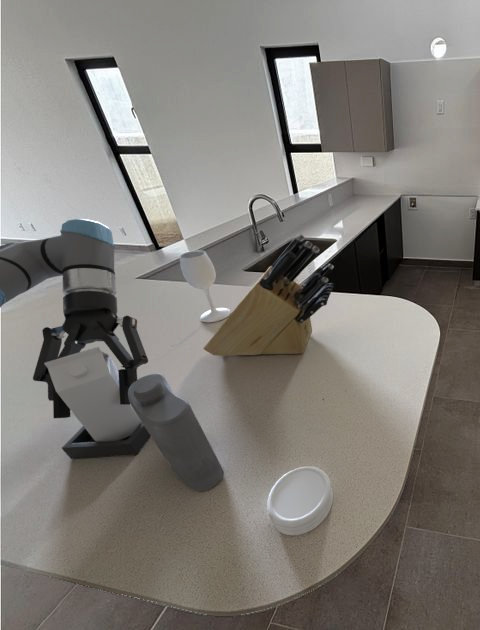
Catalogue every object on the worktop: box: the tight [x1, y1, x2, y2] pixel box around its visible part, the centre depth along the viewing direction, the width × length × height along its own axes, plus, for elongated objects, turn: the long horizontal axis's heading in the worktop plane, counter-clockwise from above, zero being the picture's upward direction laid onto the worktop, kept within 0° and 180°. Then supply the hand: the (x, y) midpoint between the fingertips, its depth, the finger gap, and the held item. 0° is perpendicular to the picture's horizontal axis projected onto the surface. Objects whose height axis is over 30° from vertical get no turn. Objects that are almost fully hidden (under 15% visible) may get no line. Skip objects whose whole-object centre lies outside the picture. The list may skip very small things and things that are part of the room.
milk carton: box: [44, 346, 142, 442], centre depth 63 cm, size 7×7×19 cm
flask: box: [128, 373, 225, 492], centre depth 57 cm, size 15×6×20 cm, turn 52°
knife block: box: [203, 233, 335, 357], centre depth 86 cm, size 11×35×31 cm, turn 92°
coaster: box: [266, 465, 334, 537], centre depth 55 cm, size 10×10×4 cm
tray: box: [61, 423, 152, 460], centre depth 68 cm, size 12×12×3 cm
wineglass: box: [178, 249, 231, 323], centre depth 102 cm, size 9×9×21 cm
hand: (95, 410), depth 61 cm, fingers closed on milk carton, 9 cm apart
